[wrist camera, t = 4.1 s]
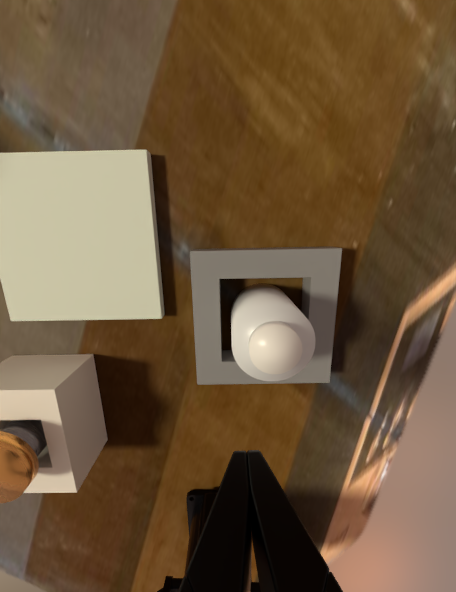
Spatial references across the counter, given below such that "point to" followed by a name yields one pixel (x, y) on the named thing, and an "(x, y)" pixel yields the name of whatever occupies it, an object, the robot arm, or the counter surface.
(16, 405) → the plunger housing
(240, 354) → the cylinder
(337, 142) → the counter surface
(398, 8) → the counter surface
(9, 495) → the plunger
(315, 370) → the socket
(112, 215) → the dock pad
